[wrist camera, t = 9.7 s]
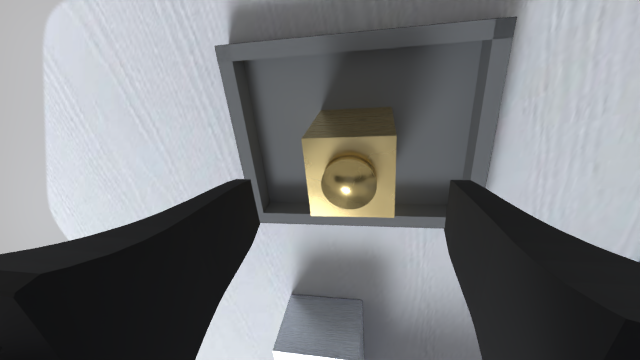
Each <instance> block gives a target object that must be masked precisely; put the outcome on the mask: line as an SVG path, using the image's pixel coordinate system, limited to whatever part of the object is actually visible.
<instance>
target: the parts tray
mask: <svg viewBox="0 0 640 360" xmlns="http://www.w3.org/2000/svg"><path fill="white" fill-rule="evenodd" d="M516 19H517V17H507V18H495V19H485V20H475V21H464V22H454V23H444V24H433V25H423V26H413V27H402V28H392V29H382V30H371V31H361V32H351V33H340V34H330V35H319V36H309V37H299V38H288V39H278V40H268V41H257V42H247V43H237V44H227V45H218V46H214V47H215V51H216V55H217V60H218V64H219V69H220V73H221V77H222V82H223V86H224V91H225V95H226V100H227V104H228V108H229V113H230V117H231V122H232V126H233V130H234V135H235V139H236V144H237V148H238V153H239V157H240V161H241V166H242V170H243V175H244V179H251V184H252V188H253V193H254V198H255V202H256V207H257V212H258V216H259V221H260V223H282V224H315V225H348V226H381V227H413V228H445V220H446V212H447V204H448V195H449V187H450V180H471V181H473V182H475V183H477V184H479V185H481V186H482V187H484V188H485V186H486V180H487V175H488V169H489V164H490V159H491V153H492V148H493V143H494V137H495V132H496V126H497V121H498V116H499V110H500V105H501V100H502V94H503V89H504V83H505V78H506V73H507V67H508V62H509V57H510V51H511V46H512V40H513V35H514V30H515V24H516ZM376 107H392V112H393V118H394V123H395V129H396V135H397V142H396V178H395V214H394V218H382V217H338V216H311V213H310V205H309V197H308V188H307V180H306V172H305V164H304V156H303V148H302V140H301V138H302V137H303V135H304V134H305V133H306V131H307V130H308V128H309V127H310V125H311V124H312V122H313V121H314V119H315V118H316V117H317V115H318V114H319V112H320V111H321V110H335V109H355V108H376Z"/></svg>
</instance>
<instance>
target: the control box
mask: <svg viewBox="0 0 640 360" xmlns="http://www.w3.org/2000/svg"><path fill="white" fill-rule="evenodd" d="M273 355H274V359H275V360H364V344H363V314H362V300H354V299H341V298H328V297H316V296H303V295H291V296H290V299H289V302H288V305H287V308H286V311H285V314H284V317H283V321H282V324H281V327H280V330H279V333H278V336H277V339H276V342H275V345H274V348H273Z"/></svg>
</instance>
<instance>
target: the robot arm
mask: <svg viewBox="0 0 640 360" xmlns="http://www.w3.org/2000/svg"><path fill="white" fill-rule="evenodd" d="M259 225H260V221H259V216H258V212H257V207H256V202H255V198H254V193H253V188H252V184H251V179H235V180H232V181H229V182H227V183H224V184H222V185H220V186H217V187H215V188H213V189H211V190H209V191H207V192H205V193H202V194H200V195H198V196H196V197H194V198H192V199H190V200H188V201H185V202H183V203H181V204H179V205H176V206H174V207H172V208H169V209H167V210H165V211H163V212H160V213H158V214H155V215H153V216H150V217H147V218H145V219H142V220H139V221H136V222H134V223H131V224H128V225H125V226H121V227H118V228H115V229H111V230H108V231H105V232H101V233H98V234H94V235H91V236H87V237H83V238H79V239H75V240H71V241H67V242H62V243H58V244H54V245H49V246H44V247H39V248H35V249H29V250H23V251H17V252H11V253H5V254H0V360H195V359H196V356H197V354H198V351H199V349H200V346H201V344H202V341H203V339H204V336H205V334H206V332H207V329H208V327H209V325H210V322H211V320H212V318H213V316H214V313H215V311H216V309H217V307H218V304H219V302H220V300H221V299H222V297H223V295H224V293H225V291H226V289H227V288H228V286H229V284H230V282H231V281H232V279H233V277H234V275H235V274H236V272H237V270H238V269H239V267H240V265H241V263H242V262H243V260H244V258H245V256H246V255H247V253H248V251H249V249H250V247H251V246H252V243H253V241H254V238H255V236H256V233H257V231H258V228H259ZM444 231H445V237H446V242H447V247H448V251H449V256H450V258H451V261H452V264H453V267H454V270H455V273H456V276H457V278H458V281H459V284H460V287H461V289H462V292H463V295H464V298H465V300H466V303H467V306H468V309H469V311H470V314H471V317H472V321H473V324H474V327H475V331H476V335H477V339H478V343H479V347H480V351H481V355H482V359H483V360H640V263H639V262H636V261H634V260H631V259H628V258H626V257H623V256H620V255H618V254H615V253H612V252H609V251H607V250H604V249H602V248H599V247H597V246H594V245H592V244H590V243H587V242H585V241H583V240H580V239H578V238H576V237H574V236H572V235H569V234H567V233H565V232H563V231H560V230H558V229H556V228H554V227H552V226H550V225H548V224H546V223H544V222H542V221H541V220H539V219H537V218H535V217H533V216H531V215H529V214H527V213H526V212H524V211H522V210H520V209H519V208H517V207H515V206H514V205H512V204H510V203H508V202H507V201H505V200H503V199H502V198H500V197H499V196H497V195H495V194H494V193H492V192H491V191H489V190H487V189H486V188H484V187H482V186H481V185H479V184H477V183H475V182H473V181H471V180H450V187H449V195H448V204H447V212H446V220H445V228H444Z"/></svg>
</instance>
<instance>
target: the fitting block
mask: <svg viewBox="0 0 640 360" xmlns="http://www.w3.org/2000/svg"><path fill="white" fill-rule="evenodd" d="M301 140H302V148H303V156H304V164H305V172H306V180H307V188H308V197H309V205H310V213H311V216H338V217H382V218H394V214H395V178H396V142H397V135H396V129H395V123H394V118H393V112H392V107H376V108H355V109H335V110H321V111H320V112H319V114H318V115H317V117H316V118H315V119H314V121H313V122H312V124H311V125H310V127H309V128H308V130H307V131H306V133H305V134H304V135H303V137H302V138H301Z"/></svg>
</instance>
